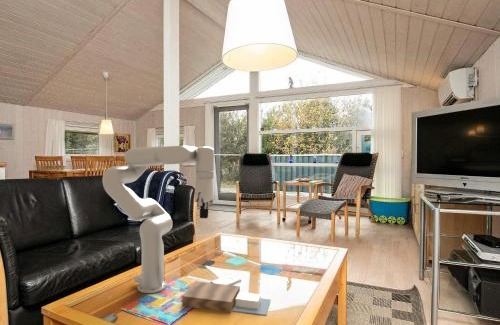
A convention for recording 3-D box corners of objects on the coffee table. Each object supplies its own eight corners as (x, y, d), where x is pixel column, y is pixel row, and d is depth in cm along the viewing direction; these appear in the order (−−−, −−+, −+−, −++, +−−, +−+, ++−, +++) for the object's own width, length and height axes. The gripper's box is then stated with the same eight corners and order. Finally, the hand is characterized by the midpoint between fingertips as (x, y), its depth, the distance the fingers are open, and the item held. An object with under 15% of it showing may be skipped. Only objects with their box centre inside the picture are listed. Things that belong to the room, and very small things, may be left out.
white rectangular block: (235, 306, 118) (235, 298, 118) (239, 299, 124) (239, 291, 124) (257, 309, 116) (257, 301, 116) (260, 301, 122) (260, 294, 122)
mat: (232, 311, 115) (232, 310, 115) (240, 296, 127) (240, 295, 127) (265, 315, 112) (266, 314, 112) (270, 300, 124) (270, 299, 124)
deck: (182, 305, 118) (182, 296, 118) (195, 290, 132) (196, 281, 132) (230, 312, 114) (231, 302, 114) (239, 295, 128) (239, 286, 128)
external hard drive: (210, 284, 139) (229, 276, 148) (221, 290, 133) (241, 282, 142) (210, 281, 139) (229, 273, 148) (221, 286, 133) (241, 278, 142)
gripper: (202, 174, 136) (202, 214, 136) (189, 176, 121) (188, 221, 122) (218, 174, 134) (217, 215, 135) (206, 177, 119) (206, 222, 120)
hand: (203, 217), depth 128 cm, fingers closed
